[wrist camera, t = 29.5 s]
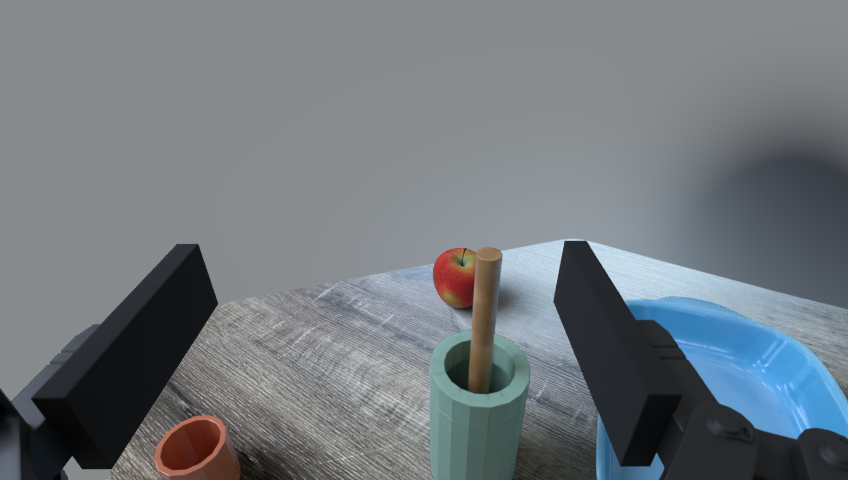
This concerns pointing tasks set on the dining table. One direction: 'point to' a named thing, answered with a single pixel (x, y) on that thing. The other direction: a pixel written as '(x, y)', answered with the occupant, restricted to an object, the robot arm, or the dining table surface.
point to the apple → (455, 277)
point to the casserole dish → (739, 375)
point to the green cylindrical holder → (476, 411)
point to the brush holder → (197, 452)
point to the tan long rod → (484, 318)
